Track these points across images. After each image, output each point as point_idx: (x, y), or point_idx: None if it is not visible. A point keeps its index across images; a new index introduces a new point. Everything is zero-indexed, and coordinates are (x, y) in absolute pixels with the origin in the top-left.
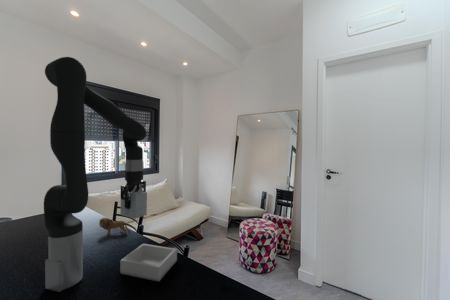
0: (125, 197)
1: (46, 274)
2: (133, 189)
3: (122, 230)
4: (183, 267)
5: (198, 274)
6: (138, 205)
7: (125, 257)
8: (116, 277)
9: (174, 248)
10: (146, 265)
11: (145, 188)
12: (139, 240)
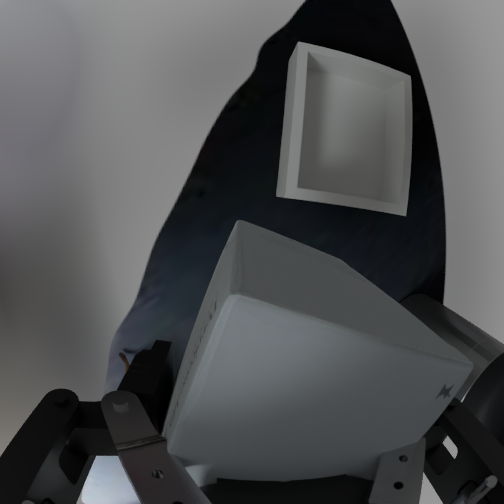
0: (467, 410)
1: None
2: (415, 495)
3: None
4: (317, 37)
5: (335, 4)
6: (358, 280)
7: (391, 208)
8: None
9: (297, 50)
10: (411, 115)
11: (27, 432)
12: (168, 278)
